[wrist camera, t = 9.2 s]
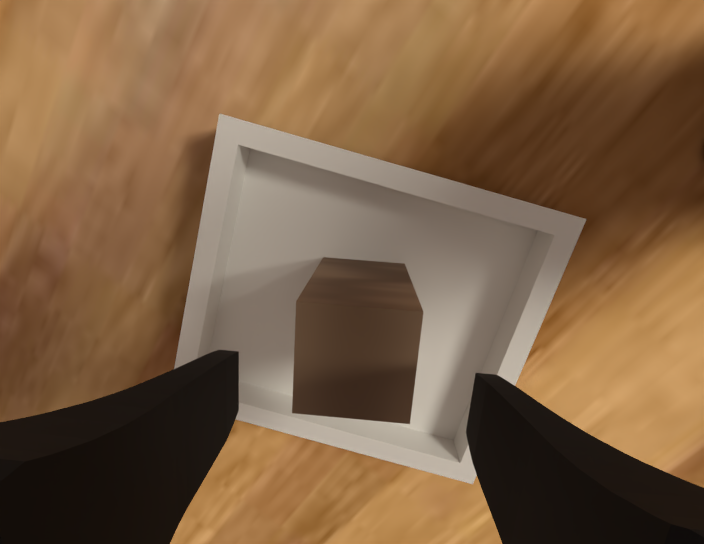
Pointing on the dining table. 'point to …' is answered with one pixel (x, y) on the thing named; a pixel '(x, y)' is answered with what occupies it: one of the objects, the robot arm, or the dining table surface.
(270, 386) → the tray
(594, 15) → the dining table surface
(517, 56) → the dining table surface
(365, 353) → the walnut block
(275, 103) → the dining table surface
